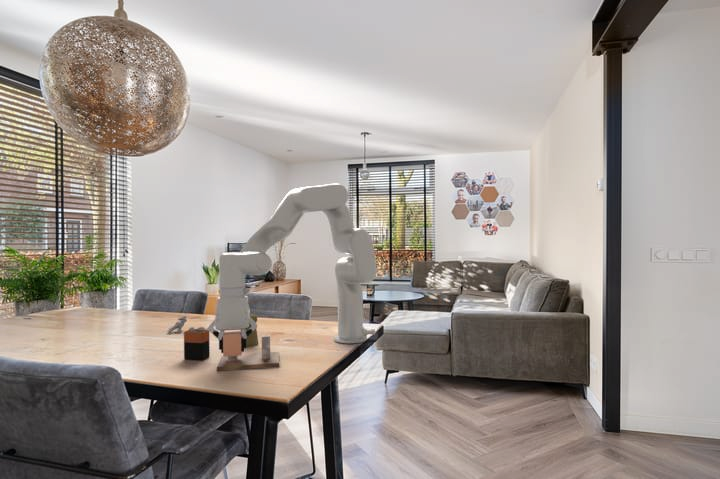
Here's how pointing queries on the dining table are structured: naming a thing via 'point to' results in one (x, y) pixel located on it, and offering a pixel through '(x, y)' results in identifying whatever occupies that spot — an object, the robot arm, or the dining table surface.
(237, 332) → the salmon pink foam cube
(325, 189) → the robot arm
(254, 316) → the cork
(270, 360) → the peg stand
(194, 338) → the battery
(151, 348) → the dining table surface
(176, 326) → the grey animal figurine
